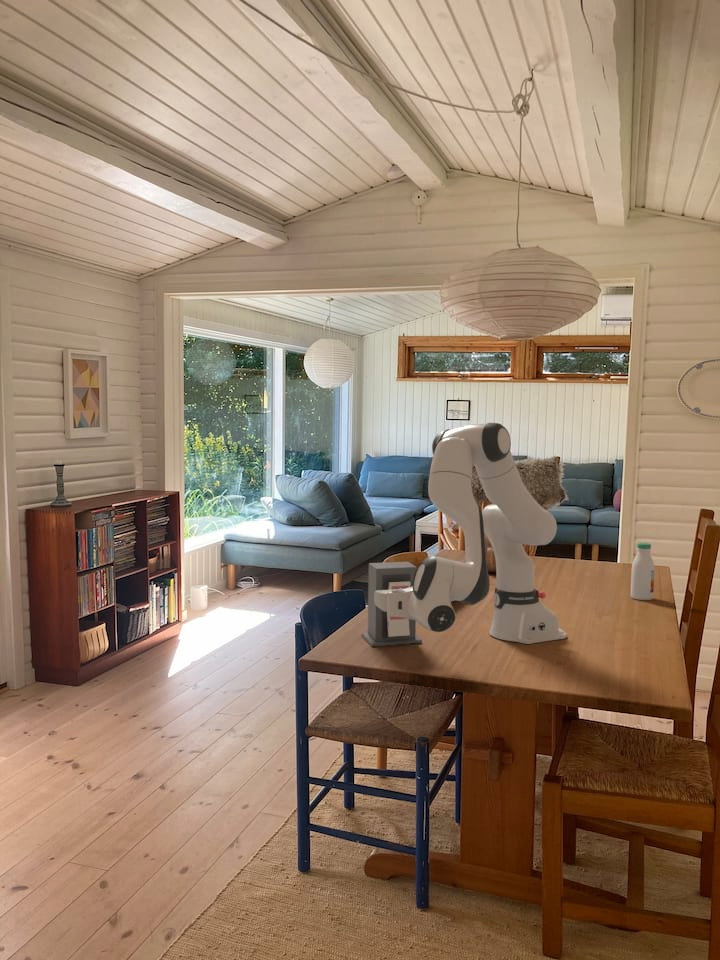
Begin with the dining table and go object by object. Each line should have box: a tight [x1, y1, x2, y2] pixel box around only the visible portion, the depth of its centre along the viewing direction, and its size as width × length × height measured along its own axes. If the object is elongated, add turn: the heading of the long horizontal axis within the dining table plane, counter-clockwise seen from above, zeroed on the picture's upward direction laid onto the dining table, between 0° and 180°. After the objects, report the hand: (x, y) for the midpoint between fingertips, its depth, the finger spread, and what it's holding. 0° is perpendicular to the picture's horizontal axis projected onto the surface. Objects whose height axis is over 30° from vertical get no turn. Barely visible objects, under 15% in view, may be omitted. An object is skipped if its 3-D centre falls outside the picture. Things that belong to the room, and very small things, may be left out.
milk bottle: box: [630, 542, 655, 601], centre depth 279 cm, size 8×8×20 cm
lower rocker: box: [387, 615, 410, 637], centre depth 220 cm, size 6×1×7 cm, turn 105°
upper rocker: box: [388, 581, 411, 590], centre depth 219 cm, size 6×1×7 cm, turn 105°
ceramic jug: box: [484, 535, 496, 574], centre depth 322 cm, size 18×14×14 cm
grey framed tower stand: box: [361, 561, 423, 647], centre depth 225 cm, size 15×11×22 cm
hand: (403, 590), depth 215 cm, fingers closed
